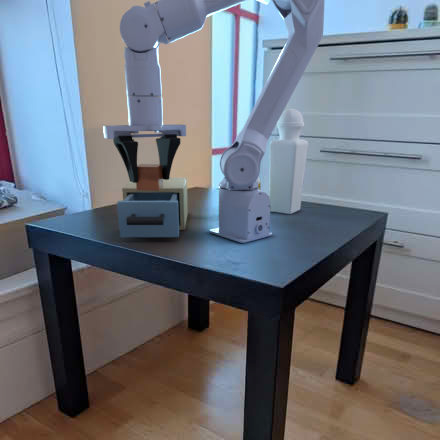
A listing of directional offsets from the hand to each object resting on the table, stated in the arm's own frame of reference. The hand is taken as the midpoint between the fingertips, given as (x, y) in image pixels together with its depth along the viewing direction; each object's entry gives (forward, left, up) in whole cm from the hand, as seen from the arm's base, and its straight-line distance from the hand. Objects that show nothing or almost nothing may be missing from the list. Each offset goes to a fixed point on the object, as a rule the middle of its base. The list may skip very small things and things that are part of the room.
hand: (149, 180), depth 75 cm
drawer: (0, 0, -9) cm, 9 cm away
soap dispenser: (-3, -35, -10) cm, 36 cm away
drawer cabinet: (+8, -7, -10) cm, 14 cm away
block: (0, 0, -1) cm, 1 cm away
